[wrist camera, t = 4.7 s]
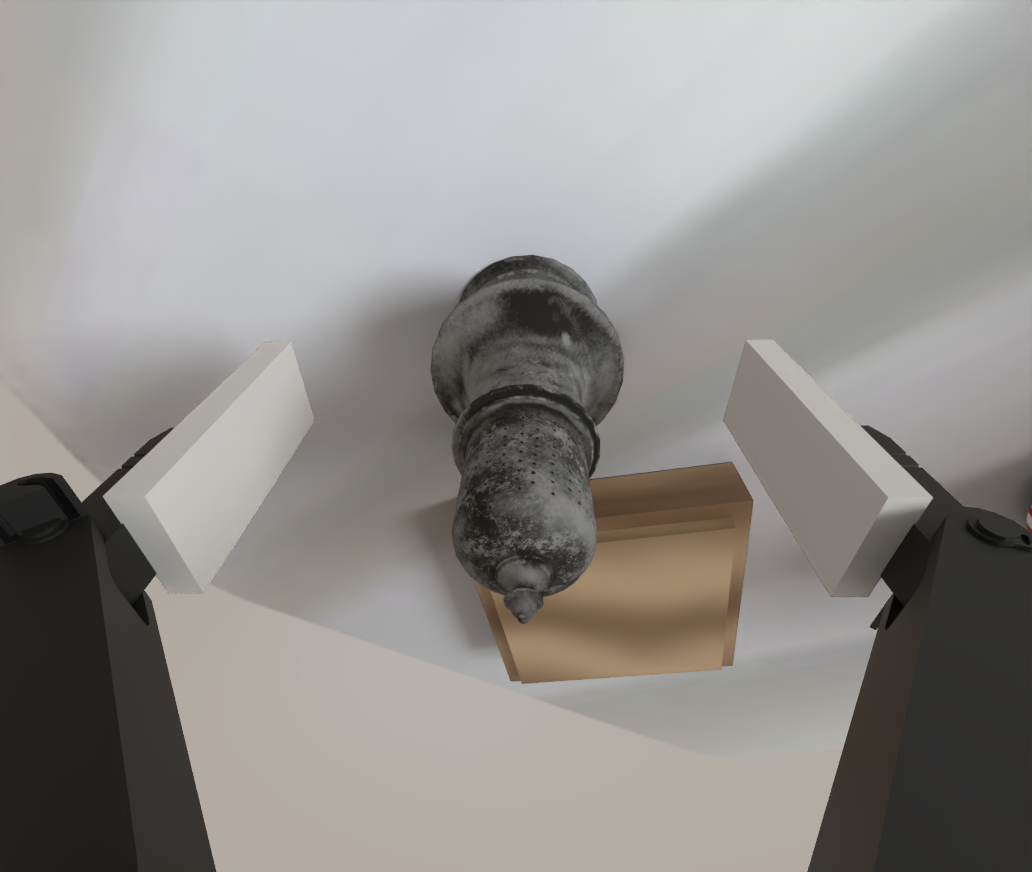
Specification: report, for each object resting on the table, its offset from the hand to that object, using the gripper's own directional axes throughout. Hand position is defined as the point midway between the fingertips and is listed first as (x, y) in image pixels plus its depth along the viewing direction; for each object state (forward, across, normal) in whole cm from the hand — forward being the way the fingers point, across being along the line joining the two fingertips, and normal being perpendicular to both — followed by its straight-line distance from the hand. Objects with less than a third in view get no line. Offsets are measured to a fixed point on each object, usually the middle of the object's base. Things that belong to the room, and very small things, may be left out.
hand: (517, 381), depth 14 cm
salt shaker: (+4, 0, 0) cm, 4 cm away
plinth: (+4, +4, -13) cm, 14 cm away
